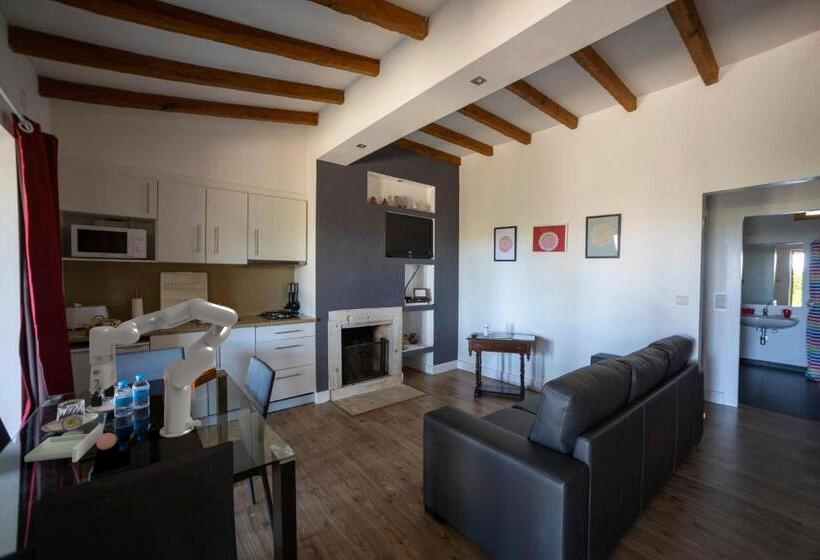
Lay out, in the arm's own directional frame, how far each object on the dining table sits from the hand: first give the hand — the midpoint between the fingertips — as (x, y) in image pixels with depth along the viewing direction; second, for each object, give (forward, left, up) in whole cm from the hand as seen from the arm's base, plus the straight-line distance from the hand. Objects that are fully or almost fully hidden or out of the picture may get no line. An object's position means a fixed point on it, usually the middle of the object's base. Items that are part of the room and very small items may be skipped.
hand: (103, 401), depth 138 cm
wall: (+5, -1, -19) cm, 19 cm away
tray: (+14, -2, -19) cm, 24 cm away
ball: (-1, +1, -16) cm, 16 cm away
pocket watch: (+16, -15, -19) cm, 29 cm away
